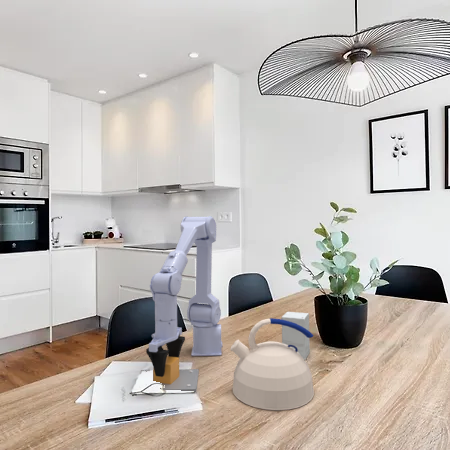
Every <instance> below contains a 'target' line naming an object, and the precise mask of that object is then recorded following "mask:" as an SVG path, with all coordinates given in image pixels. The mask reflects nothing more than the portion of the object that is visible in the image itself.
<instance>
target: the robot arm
mask: <svg viewBox="0 0 450 450" xmlns="http://www.w3.org/2000/svg"><path fill="white" fill-rule="evenodd" d="M180 233H181V234H180V236H179V239H178V242H177V245H176V247H175V249H174V250H172V251H170V252H168V255H167V256H166V259H165V260H164V263H163V265H162V266H161V268H160V269H159V271H158V272H157V273H155V274H153V275H152V278H151V280H150V284H149V290H150V293H151V294H152V300H153V302H154V321H155V322H154V324H155V325H154V327H155V328H154V330H155V332H154V333H152V334H151V338H152V340H151V341H150V342H149V343H148V347H147V348H146V351H145V352H146V354H147V356H148V358H149V360H150V361H151V364H152V369H153V368H154V372H155V375H156V376H159V377H163V376H164V374H165V364H166V358H167V356H170V357H178V358H179V359H180V355H181V350H182V347H183V344H184V343H185V341H186V337H185V336H184V335H183V331H182V330H183V329H182V327H181V326H180V327H179V326H178V303H177V302H178V294H179V292H180V291H181V288H182V287H181V286H182V281H183V273H184V271H185V269H186V266H187V264H188V261H189V260H188V256H187V255H188V254H189V251H190V250H191V249H192V247H193V245H195V246H196V257H195V258H196V260H195V261H196V262H195V263H196V264H195V265H196V266H195V267H196V269H195V271H196V272H195V275H196V276H195V295H193V296H192V297H191V298H190V299H189V300H188V306H187V310H186V316H187V317H186V318H187V320H188V321H189V323H190V325H191V326H192V342H193V343H192V349H191V355H190V356H192V357H198V356H199V357H204V356H205V357H206V356H222V353H223V352H222V348H223V341H222V324H221V323H219V322H220V320H221V315H222V313H221V306H220V305H221V304H220V300H219V299H218V298H217V297H216V296H215V295H213V294H212V268H213V267H212V259H213V257H212V255H213V243H215V242H216V241H217V222H216V220H215V218H214V217H213V216H212V215H209V216H184V217H182V220H181V223H180ZM182 335H183V336H182ZM163 346H166V349H164V347H163Z"/></svg>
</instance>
